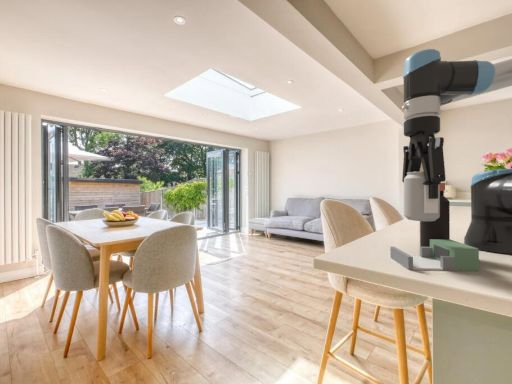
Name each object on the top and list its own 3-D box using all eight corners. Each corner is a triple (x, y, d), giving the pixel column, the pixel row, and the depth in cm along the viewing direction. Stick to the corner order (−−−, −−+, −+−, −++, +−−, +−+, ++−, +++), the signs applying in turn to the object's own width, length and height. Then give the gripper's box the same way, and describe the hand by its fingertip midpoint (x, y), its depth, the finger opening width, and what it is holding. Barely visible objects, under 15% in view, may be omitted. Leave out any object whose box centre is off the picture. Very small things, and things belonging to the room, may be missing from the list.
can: (446, 222, 59) (446, 170, 59) (410, 221, 60) (410, 170, 60) (431, 217, 66) (431, 171, 66) (399, 217, 68) (399, 172, 67)
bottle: (455, 257, 68) (455, 182, 68) (430, 257, 69) (430, 183, 68) (438, 250, 75) (438, 182, 75) (415, 250, 75) (414, 183, 75)
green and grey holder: (449, 258, 68) (449, 239, 67) (478, 270, 58) (478, 248, 57) (390, 257, 69) (390, 239, 69) (408, 269, 59) (408, 248, 59)
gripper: (388, 128, 73) (388, 207, 74) (428, 106, 53) (428, 216, 54) (416, 127, 72) (416, 207, 73) (467, 104, 52) (467, 216, 53)
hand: (421, 211), depth 63 cm, fingers closed on can, 7 cm apart
